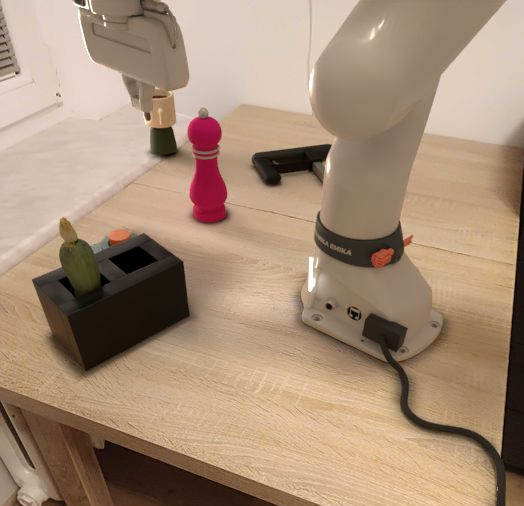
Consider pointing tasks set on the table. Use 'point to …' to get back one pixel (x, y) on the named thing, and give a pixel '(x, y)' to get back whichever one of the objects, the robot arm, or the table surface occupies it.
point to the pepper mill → (206, 169)
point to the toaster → (116, 301)
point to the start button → (118, 236)
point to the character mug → (162, 123)
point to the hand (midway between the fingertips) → (143, 109)
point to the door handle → (291, 161)
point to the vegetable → (78, 261)
